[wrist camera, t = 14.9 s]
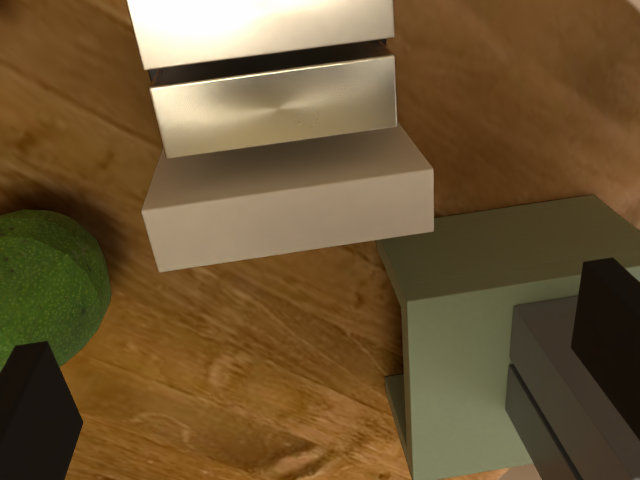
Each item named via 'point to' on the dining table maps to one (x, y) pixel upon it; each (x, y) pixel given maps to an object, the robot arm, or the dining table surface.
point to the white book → (287, 198)
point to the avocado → (49, 283)
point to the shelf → (505, 343)
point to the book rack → (265, 70)
